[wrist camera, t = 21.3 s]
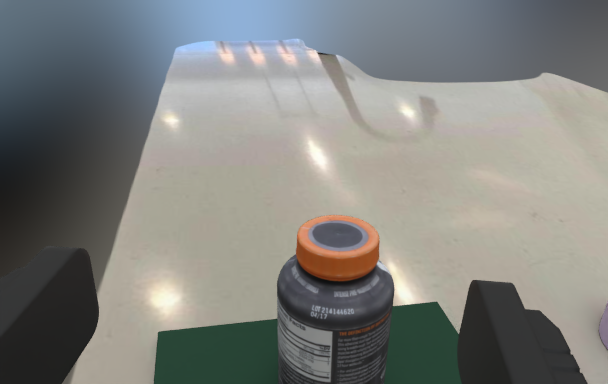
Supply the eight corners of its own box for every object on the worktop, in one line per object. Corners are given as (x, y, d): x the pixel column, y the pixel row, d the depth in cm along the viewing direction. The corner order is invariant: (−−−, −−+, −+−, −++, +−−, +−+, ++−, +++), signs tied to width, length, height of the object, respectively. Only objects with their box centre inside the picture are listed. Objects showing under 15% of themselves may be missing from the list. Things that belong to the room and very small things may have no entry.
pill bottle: (368, 359, 33) (384, 201, 28) (393, 440, 28) (418, 263, 23) (274, 366, 32) (273, 204, 27) (281, 450, 27) (282, 270, 22)
